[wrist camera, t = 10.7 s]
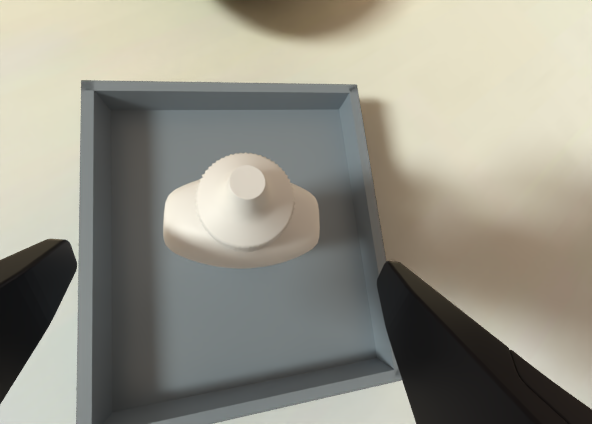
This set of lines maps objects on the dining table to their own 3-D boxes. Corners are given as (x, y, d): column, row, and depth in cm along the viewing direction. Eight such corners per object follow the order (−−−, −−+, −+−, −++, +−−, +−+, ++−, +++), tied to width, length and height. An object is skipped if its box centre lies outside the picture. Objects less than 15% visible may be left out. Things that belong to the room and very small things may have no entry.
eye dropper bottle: (267, 292, 17) (324, 358, 5) (183, 248, 16) (30, 207, 5) (300, 229, 18) (409, 163, 6) (222, 186, 17) (179, 26, 6)
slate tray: (381, 361, 18) (405, 379, 15) (106, 419, 15) (75, 454, 12) (341, 107, 21) (356, 84, 18) (106, 108, 18) (81, 80, 15)
